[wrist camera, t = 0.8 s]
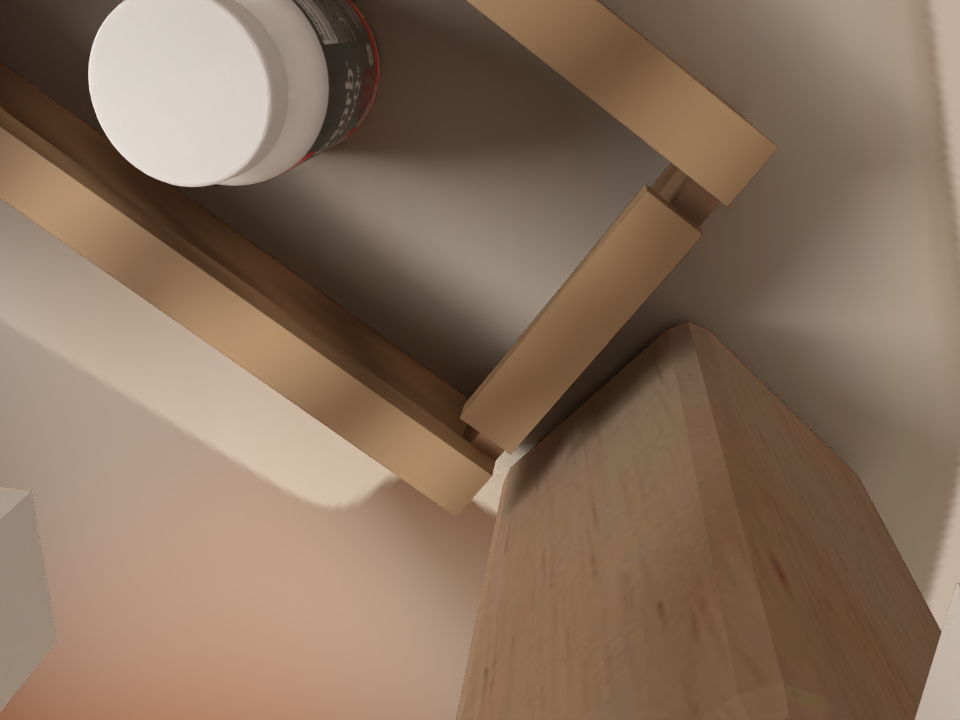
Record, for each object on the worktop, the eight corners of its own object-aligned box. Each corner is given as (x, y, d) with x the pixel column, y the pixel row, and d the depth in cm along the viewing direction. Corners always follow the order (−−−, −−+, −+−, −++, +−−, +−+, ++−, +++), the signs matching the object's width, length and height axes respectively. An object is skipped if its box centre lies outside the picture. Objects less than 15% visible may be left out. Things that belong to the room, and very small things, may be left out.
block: (686, 301, 32) (798, 706, 14) (869, 481, 34) (1185, 1054, 16) (495, 471, 36) (382, 974, 17) (670, 626, 38) (735, 1233, 19)
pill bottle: (320, 182, 32) (209, 256, 23) (191, 76, 32) (22, 109, 22) (417, 51, 30) (337, 76, 21) (281, -66, 29) (137, -93, 20)
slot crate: (-111, 13, 32) (-261, 16, 26) (65, -431, 26) (-77, -543, 21) (478, 435, 35) (456, 516, 30) (745, 119, 30) (778, 147, 24)
